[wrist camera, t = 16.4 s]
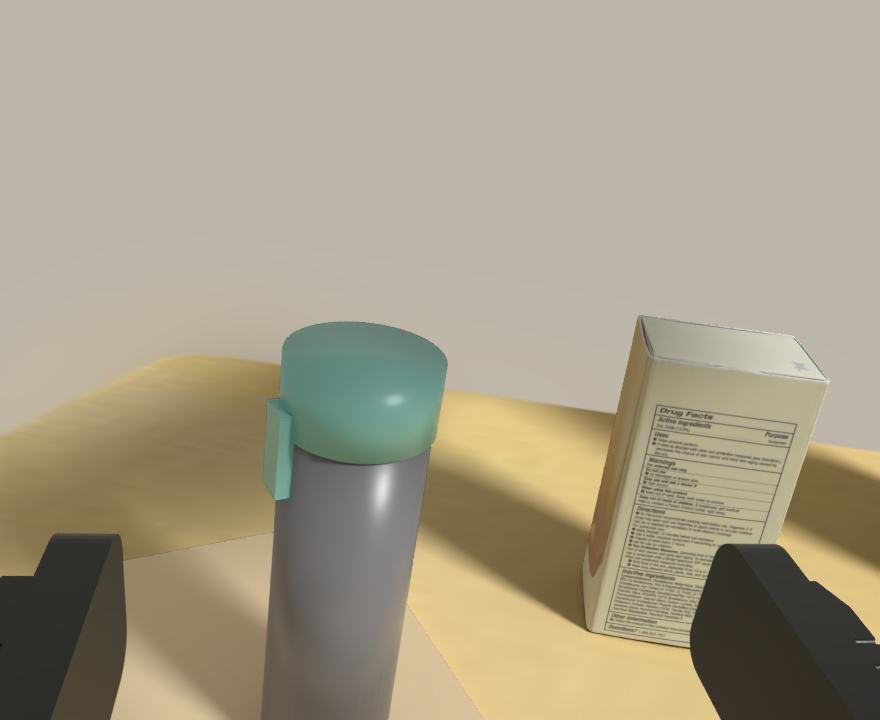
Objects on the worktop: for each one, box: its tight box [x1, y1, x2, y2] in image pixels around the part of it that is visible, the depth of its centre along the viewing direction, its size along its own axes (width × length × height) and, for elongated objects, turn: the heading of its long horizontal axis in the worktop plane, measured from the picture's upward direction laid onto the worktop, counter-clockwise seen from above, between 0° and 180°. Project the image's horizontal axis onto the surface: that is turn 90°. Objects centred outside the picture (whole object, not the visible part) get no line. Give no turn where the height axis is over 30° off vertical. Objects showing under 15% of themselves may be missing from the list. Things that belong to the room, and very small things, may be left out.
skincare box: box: [583, 315, 830, 648], centre depth 32 cm, size 6×4×12 cm
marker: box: [261, 322, 447, 720], centre depth 24 cm, size 4×4×13 cm
